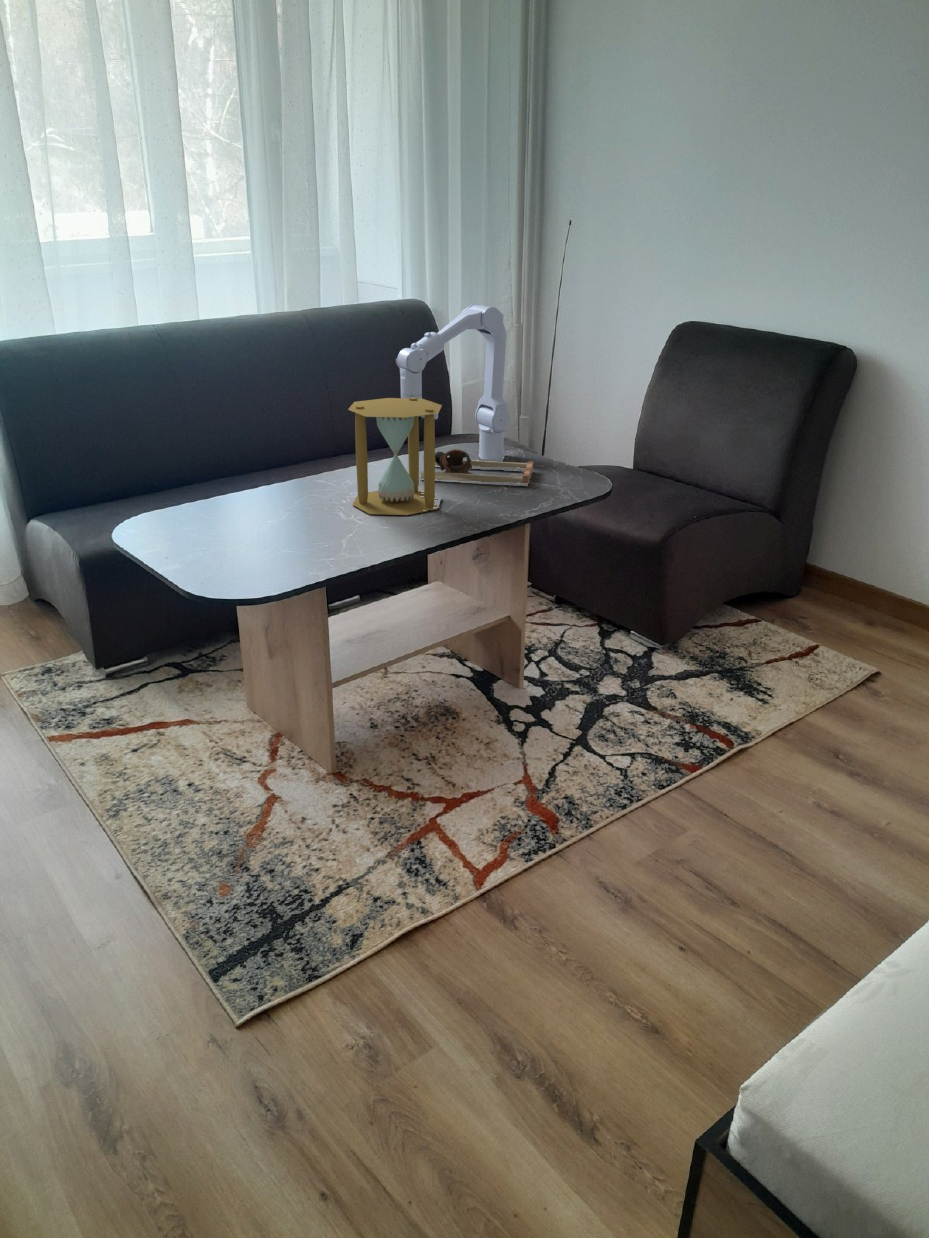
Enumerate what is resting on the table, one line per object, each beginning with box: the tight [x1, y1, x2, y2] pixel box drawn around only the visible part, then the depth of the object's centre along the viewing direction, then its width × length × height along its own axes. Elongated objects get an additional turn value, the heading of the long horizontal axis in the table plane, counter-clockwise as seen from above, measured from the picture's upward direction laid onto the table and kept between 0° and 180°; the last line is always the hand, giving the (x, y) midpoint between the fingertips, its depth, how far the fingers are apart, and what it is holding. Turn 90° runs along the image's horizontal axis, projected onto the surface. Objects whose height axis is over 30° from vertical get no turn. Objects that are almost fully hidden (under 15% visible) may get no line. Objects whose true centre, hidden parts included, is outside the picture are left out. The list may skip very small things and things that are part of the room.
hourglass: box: [347, 397, 443, 516], centre depth 235 cm, size 24×22×25 cm
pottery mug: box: [435, 448, 472, 474], centre depth 263 cm, size 12×10×8 cm
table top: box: [420, 459, 534, 483], centre depth 262 cm, size 15×30×3 cm, turn 81°
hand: (411, 443), depth 261 cm, fingers closed
